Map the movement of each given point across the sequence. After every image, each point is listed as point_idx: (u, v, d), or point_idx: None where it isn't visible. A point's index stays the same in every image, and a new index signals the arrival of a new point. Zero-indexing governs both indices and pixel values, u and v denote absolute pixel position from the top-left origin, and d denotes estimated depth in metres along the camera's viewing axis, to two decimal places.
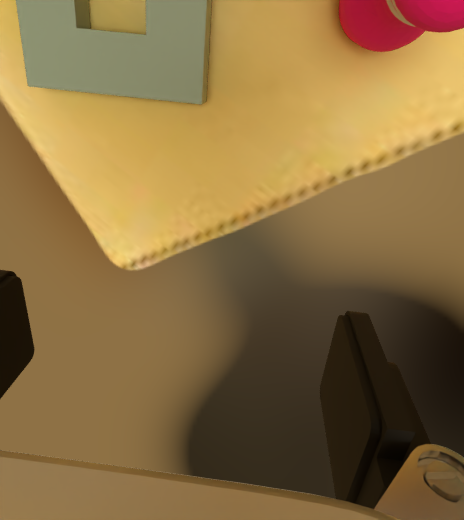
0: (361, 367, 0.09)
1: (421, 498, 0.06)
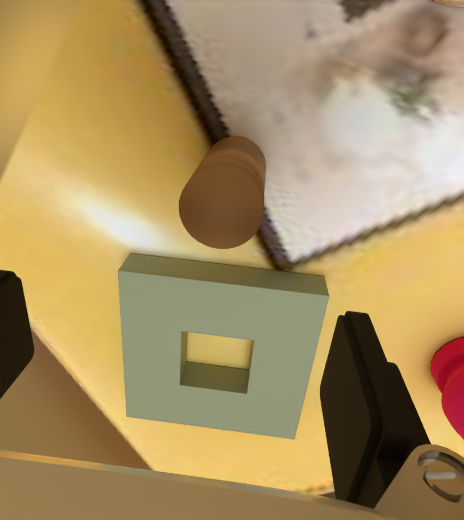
0: (361, 367, 0.09)
1: (421, 498, 0.06)
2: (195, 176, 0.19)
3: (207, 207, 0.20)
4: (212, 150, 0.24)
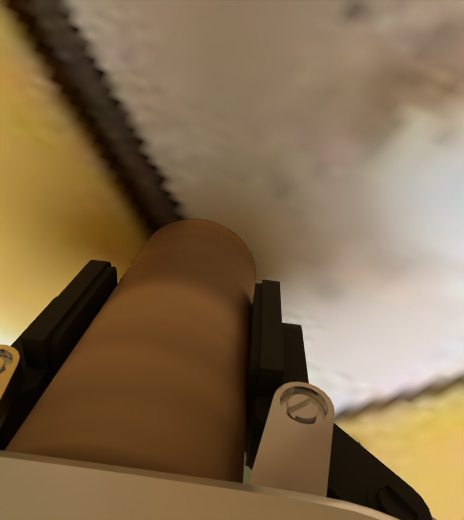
0: (258, 323, 0.10)
1: (289, 431, 0.07)
2: None
3: None
4: (134, 270, 0.11)
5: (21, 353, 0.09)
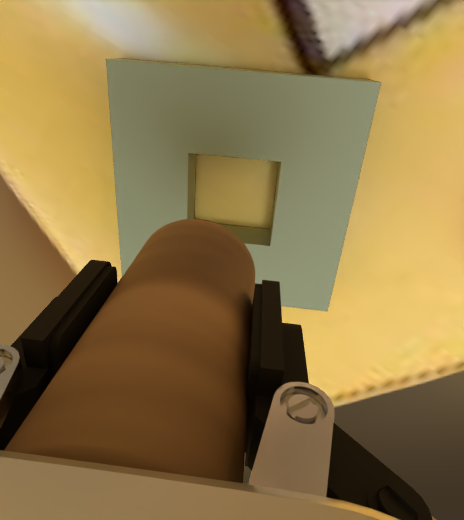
0: (258, 323, 0.10)
1: (289, 431, 0.07)
2: None
3: None
4: (133, 270, 0.11)
5: (21, 353, 0.09)
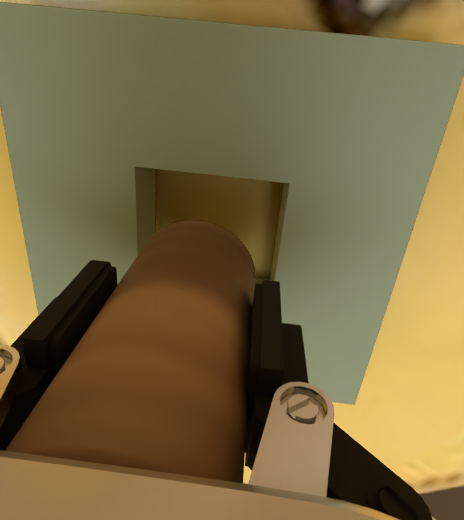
0: (258, 323, 0.10)
1: (289, 431, 0.07)
2: None
3: None
4: (133, 272, 0.11)
5: (21, 353, 0.09)
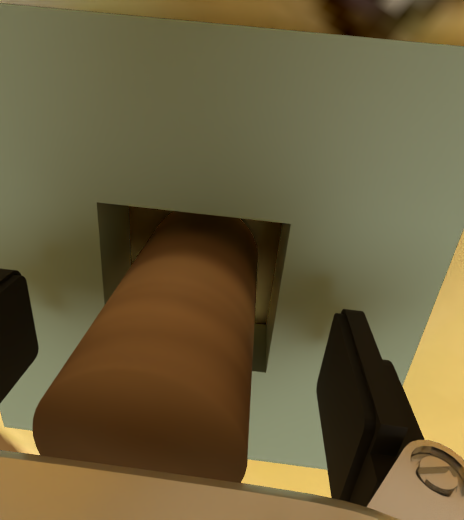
0: (356, 364, 0.09)
1: (414, 493, 0.06)
2: (63, 382, 0.07)
3: (105, 445, 0.08)
4: (150, 247, 0.12)
5: None
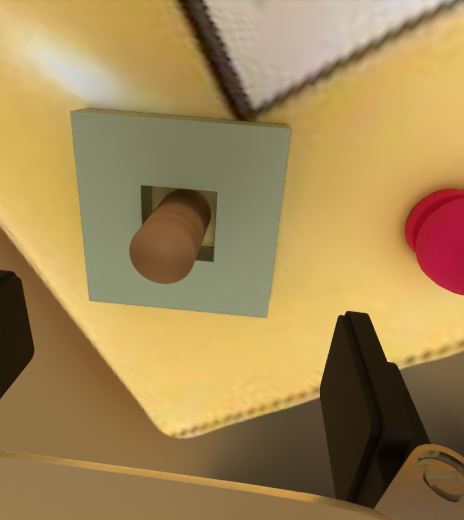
0: (361, 367, 0.09)
1: (421, 498, 0.06)
2: (140, 229, 0.25)
3: (151, 253, 0.26)
4: (162, 202, 0.30)
5: None
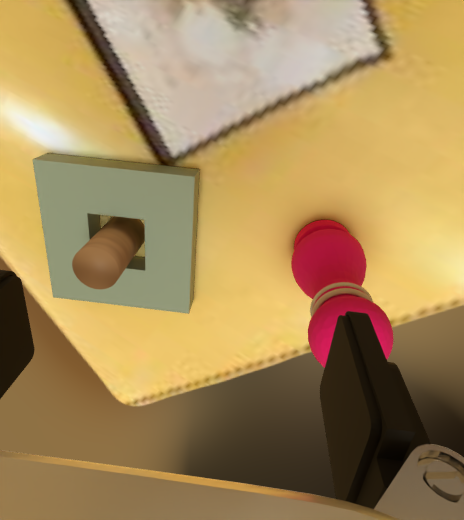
0: (361, 367, 0.09)
1: (421, 498, 0.06)
2: (79, 251, 0.35)
3: (88, 267, 0.36)
4: (103, 226, 0.40)
5: None
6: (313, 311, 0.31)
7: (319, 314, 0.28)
